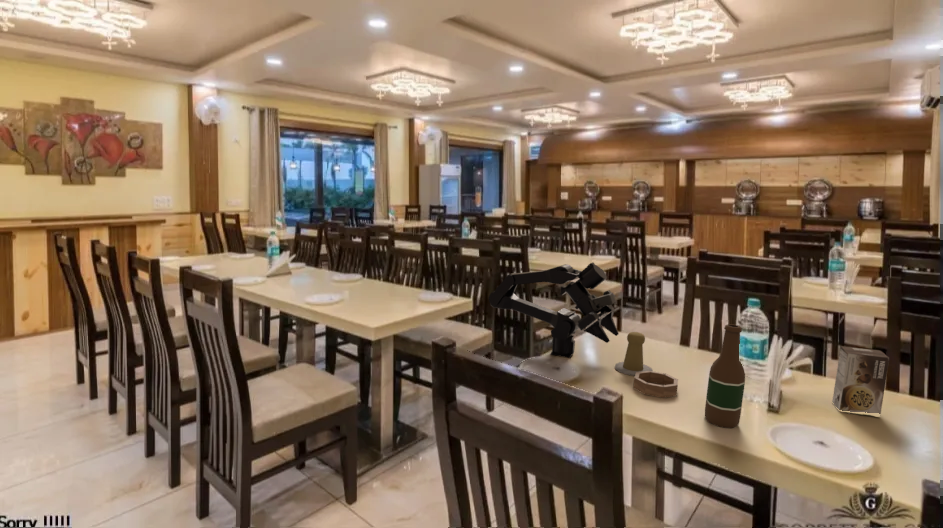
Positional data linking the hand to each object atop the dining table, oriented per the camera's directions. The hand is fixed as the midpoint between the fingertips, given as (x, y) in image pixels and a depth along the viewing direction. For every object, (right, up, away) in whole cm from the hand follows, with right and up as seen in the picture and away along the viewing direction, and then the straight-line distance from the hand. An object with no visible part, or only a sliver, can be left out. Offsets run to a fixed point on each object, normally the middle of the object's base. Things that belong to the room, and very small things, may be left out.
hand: (613, 338), depth 163 cm
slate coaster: (+6, -9, -2) cm, 11 cm away
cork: (+5, -9, -2) cm, 11 cm away
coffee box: (+56, -15, -26) cm, 64 cm away
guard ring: (+7, -12, -17) cm, 22 cm away
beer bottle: (+17, -15, -35) cm, 42 cm away
